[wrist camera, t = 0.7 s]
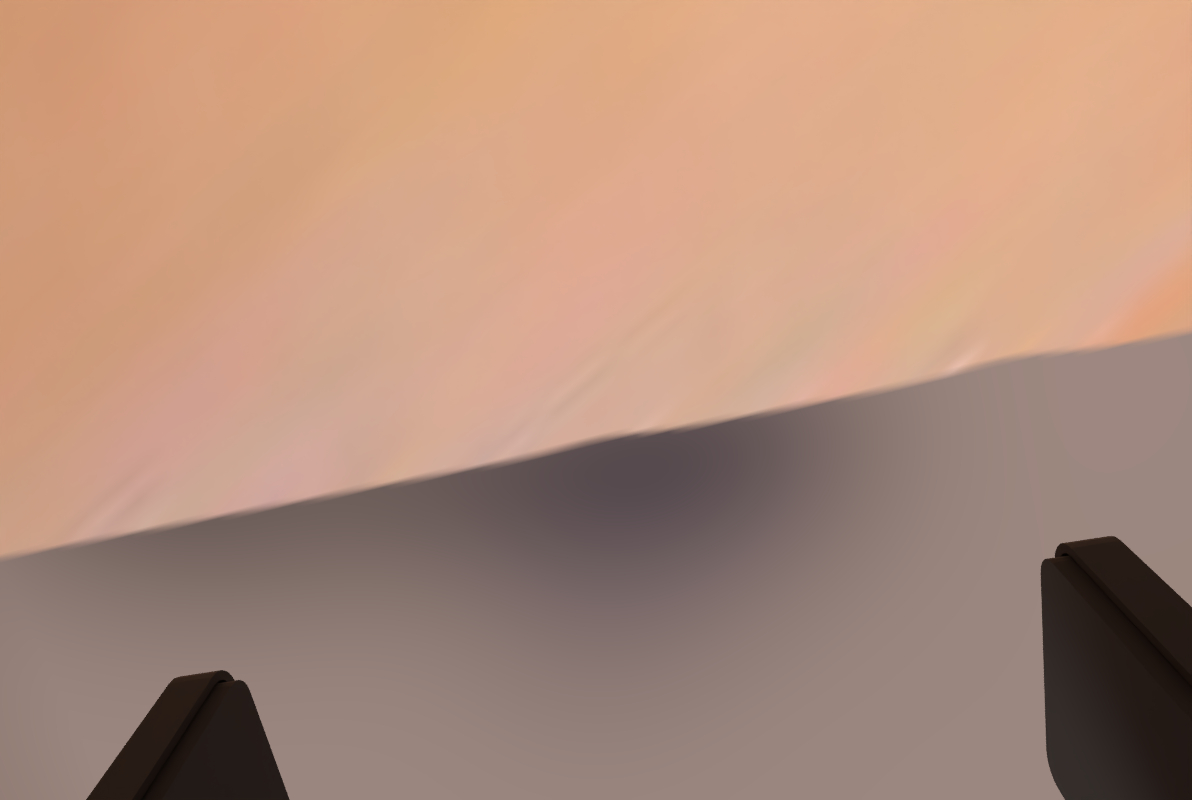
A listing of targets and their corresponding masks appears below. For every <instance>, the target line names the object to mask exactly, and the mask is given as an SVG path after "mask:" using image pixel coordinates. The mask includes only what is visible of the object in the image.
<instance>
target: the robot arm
mask: <svg viewBox="0 0 1192 800" xmlns="http://www.w3.org/2000/svg"><path fill="white" fill-rule="evenodd" d="M1041 594H1042V625H1043V656H1044V683H1045V684H1044V686H1045V718H1046V750H1047V758H1048V763H1049V767H1050V770H1051V773H1052V776H1053V778H1054V781H1055V783H1056V785H1057V787H1058V789H1059V790H1060V792H1061V794H1062V795H1063V797H1064V798H1065V800H1192V607H1191V606H1190V605H1189V604H1188V603H1187V602H1185V601H1184V600H1183V599H1182V598H1181V597H1180V596H1179V595H1178V594H1177V593H1176V592H1175V591H1174V590H1173V589H1172V588H1171V587H1170V586H1169V585H1167V584H1166V583H1165V582H1164V581H1163V580H1162V579H1161V578H1160V577H1159V576H1158V575H1157V574H1156V573H1155V572H1154V571H1153V570H1151V569H1150V568H1149V567H1148V566H1147V565H1146V564H1145V563H1144V562H1143V561H1142V560H1141V559H1140V558H1139V557H1138V556H1137V555H1135V554H1134V553H1133V552H1132V551H1131V550H1130V549H1129V548H1128V547H1127V546H1126V545H1125V544H1124V543H1123V542H1121V541H1120V540H1119V539H1118V538H1116V537H1114V536H1107V537H1101V538H1094V539H1088V540H1081V541H1075V542H1068V543H1062V544H1060V545H1059V546H1058V547H1057V549H1056V553H1055V558H1050V559H1045V560H1044V561H1043V562H1042V565H1041ZM86 800H289V797H288V795H287V792H286V789H285V786H284V783H283V781H282V778H281V775H280V772H279V770H278V767H277V764H276V761H275V759H274V756H273V754H272V751H271V748H270V745H269V742H268V740H267V737H266V734H265V731H264V729H263V726H262V723H261V720H260V718H259V715H258V712H257V709H256V706H255V704H254V701H253V698H252V696H251V693H250V690H249V688H248V687H247V685H246V684H245V682H243V681H241V680H236V681H234V679H233V677H232V676H231V675H230V674H229V673H228V672H226V671H223V670H220V671H214V672H208V673H201V674H195V675H188V676H181V677H177V678H174V679H173V680H172V681H171V682H170V684H169V685H168V686H167V687H166V689H165V690H164V692H163V693H162V694H161V696H160V697H159V699H158V700H157V701H156V703H155V704H154V706H153V707H152V708H151V710H150V711H149V713H148V714H147V715H146V717H145V718H144V720H143V721H142V722H141V724H140V725H139V727H138V728H137V729H136V731H135V732H134V734H133V735H132V736H131V738H130V739H129V741H128V742H127V743H126V745H125V746H124V748H123V749H122V751H121V752H120V753H119V755H118V756H117V757H116V759H115V760H114V762H113V763H112V764H111V766H110V767H109V769H108V770H107V771H106V773H105V774H104V776H103V777H102V778H101V780H100V781H99V783H98V784H97V785H96V787H95V788H94V790H93V791H92V792H91V794H90V795H89V797H88V798H87V799H86Z"/></svg>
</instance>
